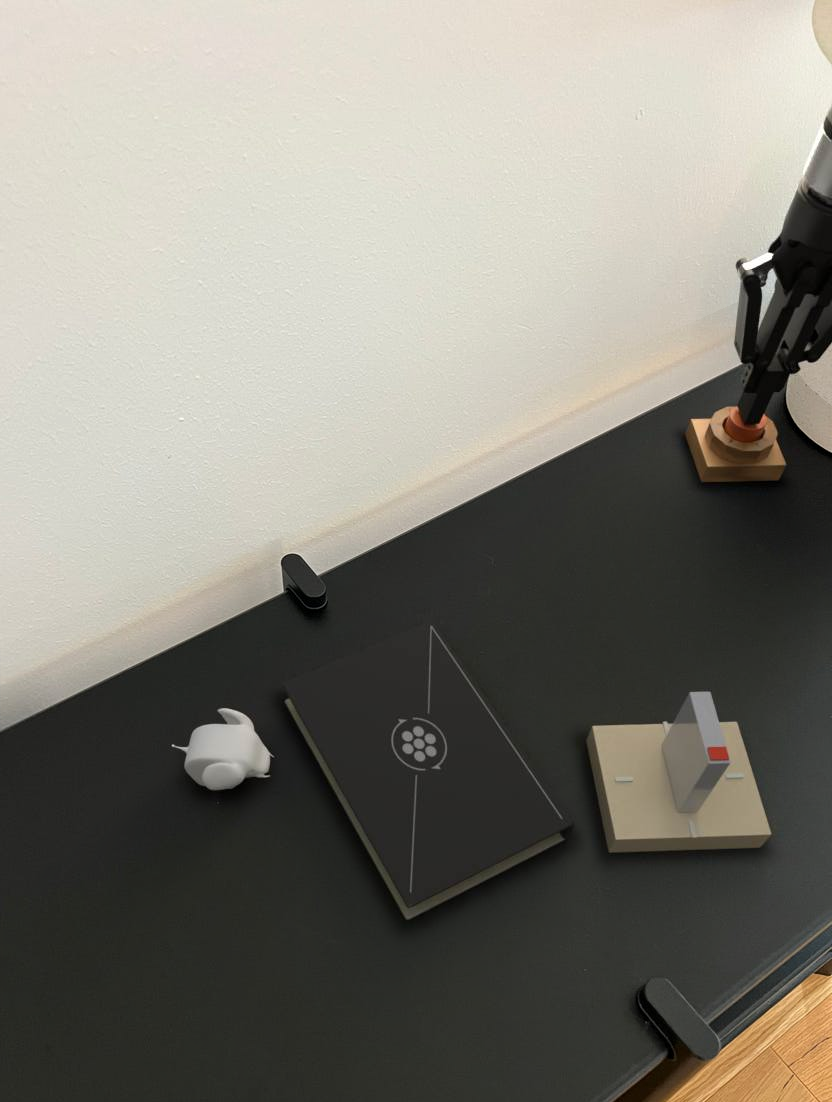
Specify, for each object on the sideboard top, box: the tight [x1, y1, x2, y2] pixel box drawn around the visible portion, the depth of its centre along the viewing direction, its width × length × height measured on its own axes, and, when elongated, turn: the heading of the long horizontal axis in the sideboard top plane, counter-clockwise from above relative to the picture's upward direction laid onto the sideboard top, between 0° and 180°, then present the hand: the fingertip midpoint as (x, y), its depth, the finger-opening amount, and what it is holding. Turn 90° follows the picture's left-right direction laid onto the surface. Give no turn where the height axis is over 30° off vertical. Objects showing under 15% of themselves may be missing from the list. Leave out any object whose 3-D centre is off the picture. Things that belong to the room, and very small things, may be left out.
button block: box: [684, 405, 787, 483], centre depth 100 cm, size 8×7×4 cm
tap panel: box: [585, 721, 772, 854], centre depth 78 cm, size 12×10×3 cm
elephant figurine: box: [171, 707, 275, 791], centre depth 78 cm, size 7×8×6 cm
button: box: [725, 405, 767, 443], centre depth 98 cm, size 4×4×2 cm
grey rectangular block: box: [662, 691, 731, 812], centre depth 74 cm, size 6×2×8 cm, turn 2°
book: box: [282, 620, 575, 922], centre depth 80 cm, size 22×15×3 cm
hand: (748, 414), depth 97 cm, fingers closed
